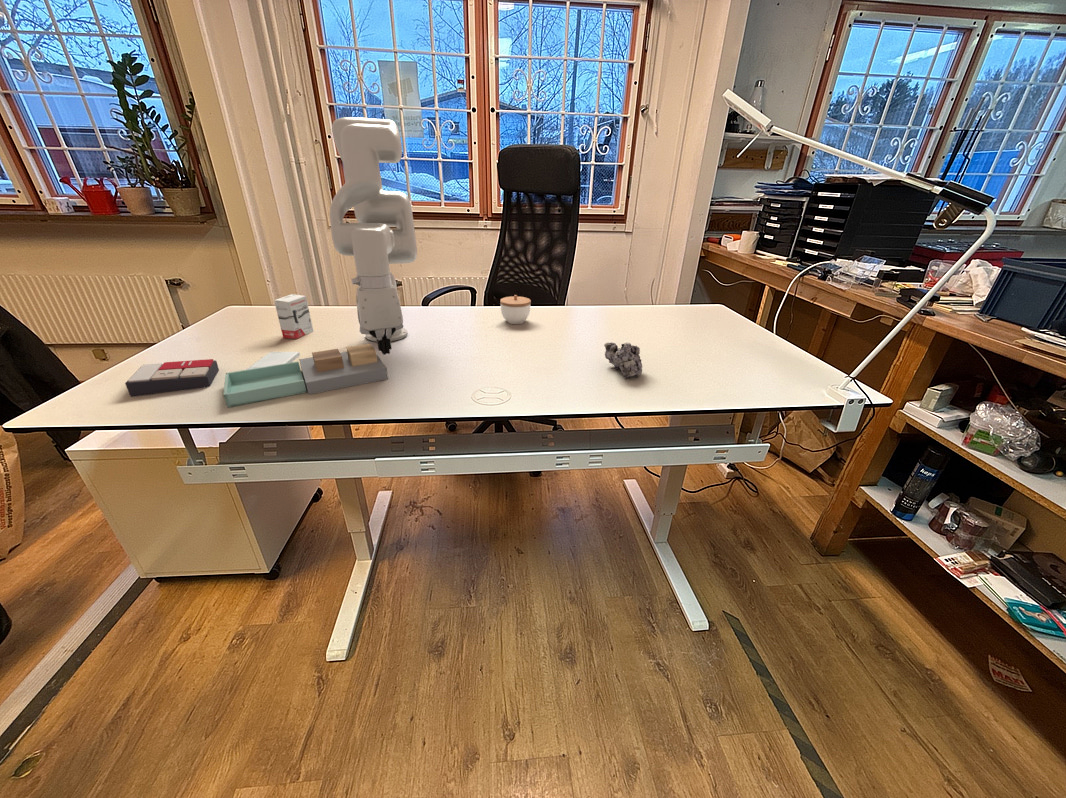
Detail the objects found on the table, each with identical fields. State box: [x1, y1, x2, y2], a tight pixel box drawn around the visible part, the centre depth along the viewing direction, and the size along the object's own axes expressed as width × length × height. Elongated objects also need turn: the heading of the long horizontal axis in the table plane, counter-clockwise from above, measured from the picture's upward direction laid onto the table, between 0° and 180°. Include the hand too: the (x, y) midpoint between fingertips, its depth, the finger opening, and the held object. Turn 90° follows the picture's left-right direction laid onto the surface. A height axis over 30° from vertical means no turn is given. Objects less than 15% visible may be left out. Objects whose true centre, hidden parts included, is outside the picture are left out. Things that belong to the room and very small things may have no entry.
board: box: [298, 351, 389, 395], centre depth 107 cm, size 16×18×3 cm
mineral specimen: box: [603, 342, 643, 380], centre depth 111 cm, size 12×9×10 cm
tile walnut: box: [311, 348, 344, 372], centre depth 104 cm, size 6×6×3 cm
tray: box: [222, 360, 308, 408], centre depth 99 cm, size 13×15×3 cm
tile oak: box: [345, 343, 378, 366], centre depth 108 cm, size 6×6×3 cm
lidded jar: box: [499, 294, 532, 325], centre depth 149 cm, size 11×11×9 cm
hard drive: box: [245, 351, 301, 370], centre depth 112 cm, size 2×8×12 cm
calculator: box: [125, 358, 220, 398], centre depth 101 cm, size 11×4×15 cm
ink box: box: [274, 293, 314, 340], centre depth 131 cm, size 8×5×12 cm, turn 169°
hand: (385, 352), depth 111 cm, fingers closed
